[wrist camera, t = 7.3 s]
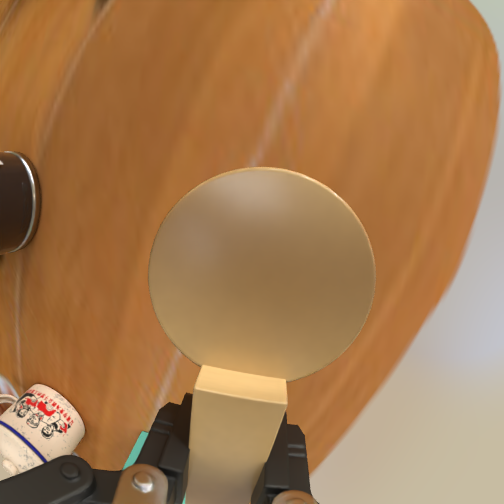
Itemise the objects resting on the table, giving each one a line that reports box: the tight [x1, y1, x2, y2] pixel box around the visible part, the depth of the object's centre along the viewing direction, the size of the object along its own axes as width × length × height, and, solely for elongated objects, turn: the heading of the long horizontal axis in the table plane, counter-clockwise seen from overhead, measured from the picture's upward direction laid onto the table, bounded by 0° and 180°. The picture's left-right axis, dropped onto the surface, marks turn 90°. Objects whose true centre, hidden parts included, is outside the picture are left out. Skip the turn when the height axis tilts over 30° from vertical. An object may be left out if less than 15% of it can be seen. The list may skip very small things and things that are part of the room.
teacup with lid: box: [0, 384, 85, 476], centre depth 21 cm, size 12×9×12 cm
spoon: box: [148, 167, 376, 504], centre depth 8 cm, size 17×5×3 cm, turn 170°
